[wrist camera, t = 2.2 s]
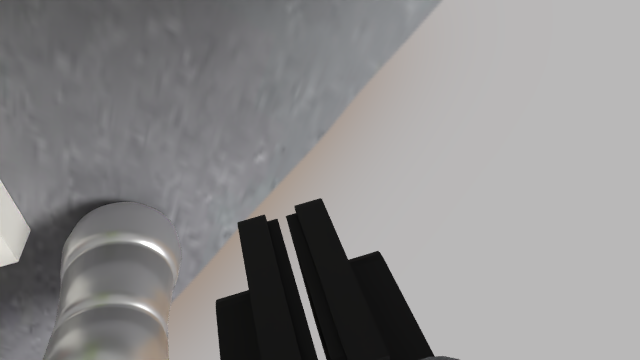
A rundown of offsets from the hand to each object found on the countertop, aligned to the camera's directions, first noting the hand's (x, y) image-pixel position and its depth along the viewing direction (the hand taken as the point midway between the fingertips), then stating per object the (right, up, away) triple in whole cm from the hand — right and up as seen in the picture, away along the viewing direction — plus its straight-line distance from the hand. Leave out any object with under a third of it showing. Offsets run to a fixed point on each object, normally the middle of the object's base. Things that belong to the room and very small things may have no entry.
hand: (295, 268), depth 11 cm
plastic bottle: (-12, -1, +23) cm, 26 cm away
